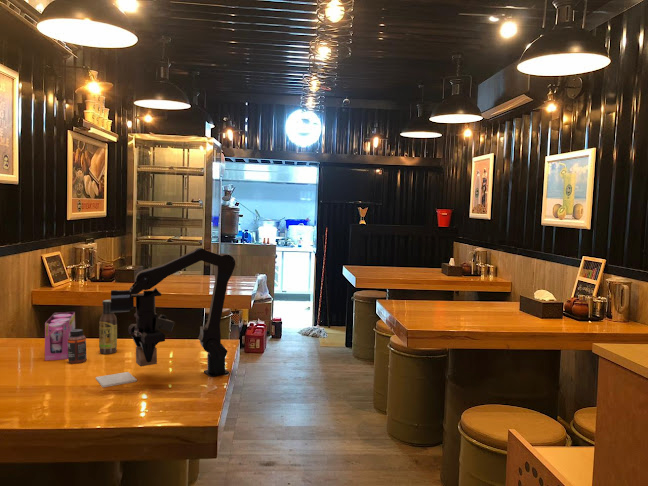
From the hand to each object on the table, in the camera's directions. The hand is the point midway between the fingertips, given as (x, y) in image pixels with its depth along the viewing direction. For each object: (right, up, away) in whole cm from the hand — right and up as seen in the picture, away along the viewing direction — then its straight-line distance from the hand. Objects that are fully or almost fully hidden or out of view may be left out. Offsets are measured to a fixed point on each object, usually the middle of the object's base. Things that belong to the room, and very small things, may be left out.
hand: (146, 359), depth 164 cm
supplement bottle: (-32, -6, +22) cm, 39 cm away
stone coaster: (-10, -7, +1) cm, 12 cm away
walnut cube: (0, -1, 0) cm, 1 cm away
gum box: (-44, -5, +35) cm, 56 cm away
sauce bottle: (-26, -5, +34) cm, 43 cm away
